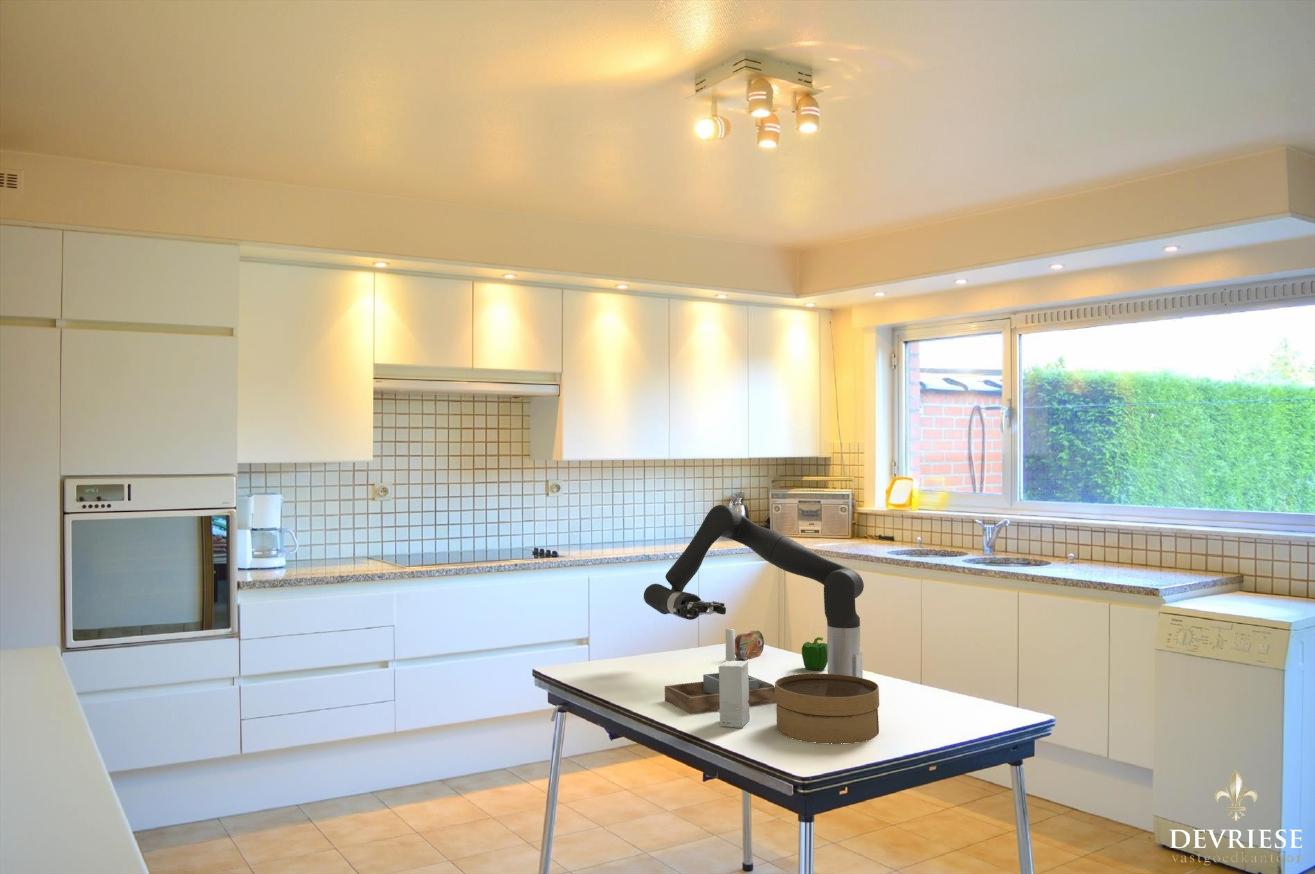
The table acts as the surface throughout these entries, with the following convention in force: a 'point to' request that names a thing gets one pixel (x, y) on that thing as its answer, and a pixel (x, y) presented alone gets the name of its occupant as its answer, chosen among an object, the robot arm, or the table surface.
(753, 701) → the bay
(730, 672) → the skincare box
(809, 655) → the bell pepper
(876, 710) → the steamer basket
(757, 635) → the tin
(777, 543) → the robot arm
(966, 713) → the table surface
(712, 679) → the tray with upright post
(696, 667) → the table surface
